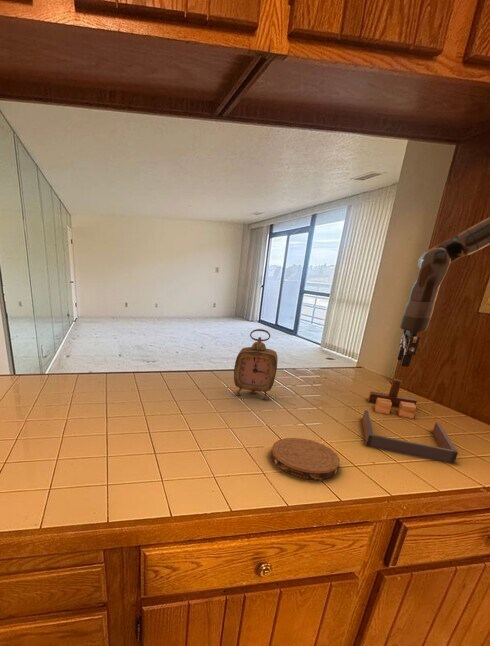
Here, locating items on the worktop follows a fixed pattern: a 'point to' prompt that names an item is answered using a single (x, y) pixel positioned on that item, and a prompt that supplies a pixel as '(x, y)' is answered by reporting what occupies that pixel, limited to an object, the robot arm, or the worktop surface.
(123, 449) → the worktop surface
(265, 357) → the tabletop clock
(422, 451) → the corral
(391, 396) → the brush
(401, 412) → the cube
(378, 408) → the cube
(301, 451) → the brown disc
